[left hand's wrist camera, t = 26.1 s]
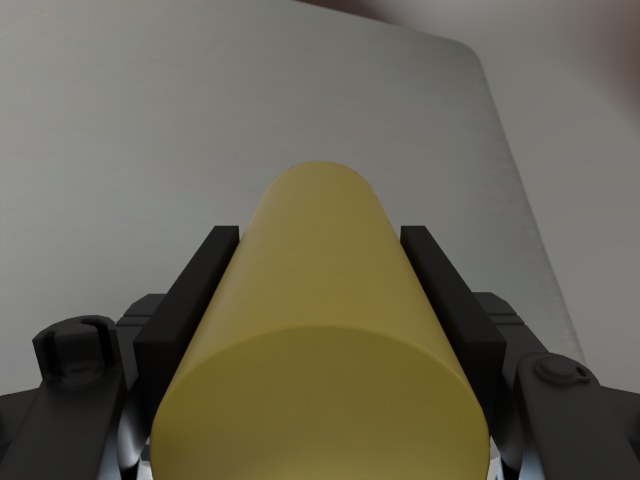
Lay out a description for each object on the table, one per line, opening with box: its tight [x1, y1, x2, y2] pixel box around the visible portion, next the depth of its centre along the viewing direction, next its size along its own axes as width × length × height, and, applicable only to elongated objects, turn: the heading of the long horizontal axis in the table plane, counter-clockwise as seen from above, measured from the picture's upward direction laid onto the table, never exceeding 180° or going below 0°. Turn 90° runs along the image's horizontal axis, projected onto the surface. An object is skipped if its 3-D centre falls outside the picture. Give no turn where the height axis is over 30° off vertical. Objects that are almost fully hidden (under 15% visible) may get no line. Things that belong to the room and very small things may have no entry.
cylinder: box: [149, 161, 490, 480], centre depth 12 cm, size 5×5×12 cm
